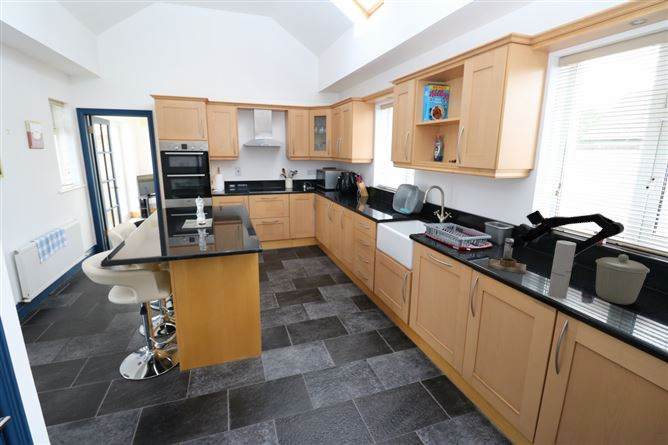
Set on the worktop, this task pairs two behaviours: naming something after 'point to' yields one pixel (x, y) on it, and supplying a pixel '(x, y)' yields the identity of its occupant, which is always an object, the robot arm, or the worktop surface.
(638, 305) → the worktop surface
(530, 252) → the worktop surface
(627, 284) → the canister
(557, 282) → the cylindrical container
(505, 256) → the steel tube
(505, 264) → the wooden collar
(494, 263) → the oak base board
